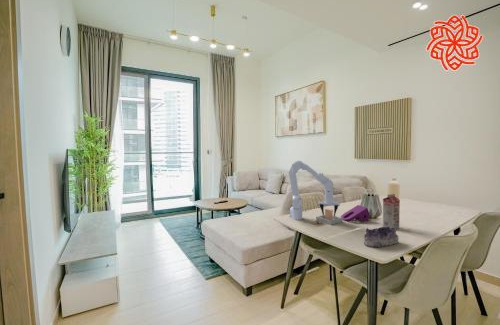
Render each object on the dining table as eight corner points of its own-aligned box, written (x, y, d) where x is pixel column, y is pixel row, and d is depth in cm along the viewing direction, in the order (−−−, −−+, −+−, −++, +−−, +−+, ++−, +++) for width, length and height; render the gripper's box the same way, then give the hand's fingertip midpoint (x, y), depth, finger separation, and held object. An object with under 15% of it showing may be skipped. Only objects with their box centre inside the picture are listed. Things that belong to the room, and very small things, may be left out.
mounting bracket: (350, 231, 166) (371, 218, 169) (345, 221, 165) (367, 207, 167) (342, 227, 175) (362, 214, 178) (338, 217, 174) (358, 204, 177)
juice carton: (382, 226, 156) (383, 193, 155) (389, 225, 159) (390, 193, 157) (392, 229, 150) (392, 195, 149) (399, 228, 153) (399, 194, 151)
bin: (316, 221, 171) (316, 216, 171) (327, 218, 177) (327, 213, 177) (330, 226, 160) (330, 221, 160) (342, 223, 166) (342, 218, 165)
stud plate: (308, 224, 165) (308, 218, 164) (317, 222, 169) (317, 216, 169) (317, 227, 157) (317, 221, 157) (327, 225, 161) (327, 219, 161)
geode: (377, 251, 120) (375, 232, 120) (359, 246, 131) (356, 228, 131) (403, 242, 128) (401, 224, 129) (384, 238, 139) (382, 221, 139)
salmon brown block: (325, 221, 167) (325, 210, 166) (325, 219, 171) (325, 208, 171) (332, 222, 165) (332, 211, 165) (332, 220, 170) (332, 209, 169)
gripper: (339, 195, 168) (339, 214, 169) (318, 195, 174) (318, 213, 174) (339, 197, 162) (339, 217, 163) (317, 196, 167) (318, 215, 168)
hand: (328, 215), depth 168 cm, fingers open, 7 cm apart
